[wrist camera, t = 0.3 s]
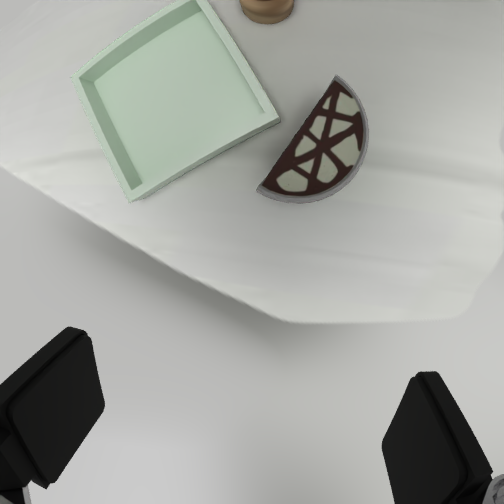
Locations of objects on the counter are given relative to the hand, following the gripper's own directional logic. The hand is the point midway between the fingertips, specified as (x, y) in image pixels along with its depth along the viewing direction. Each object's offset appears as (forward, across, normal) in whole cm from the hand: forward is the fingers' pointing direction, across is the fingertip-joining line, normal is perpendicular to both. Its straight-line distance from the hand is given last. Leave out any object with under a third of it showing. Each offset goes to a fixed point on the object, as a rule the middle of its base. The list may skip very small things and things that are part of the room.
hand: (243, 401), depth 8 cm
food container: (+29, -4, -8) cm, 30 cm away
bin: (+28, +13, -14) cm, 34 cm away
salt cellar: (+28, +3, -26) cm, 39 cm away
